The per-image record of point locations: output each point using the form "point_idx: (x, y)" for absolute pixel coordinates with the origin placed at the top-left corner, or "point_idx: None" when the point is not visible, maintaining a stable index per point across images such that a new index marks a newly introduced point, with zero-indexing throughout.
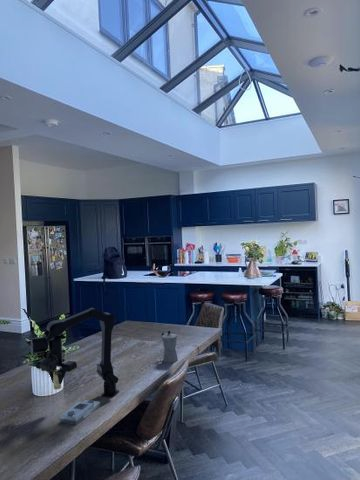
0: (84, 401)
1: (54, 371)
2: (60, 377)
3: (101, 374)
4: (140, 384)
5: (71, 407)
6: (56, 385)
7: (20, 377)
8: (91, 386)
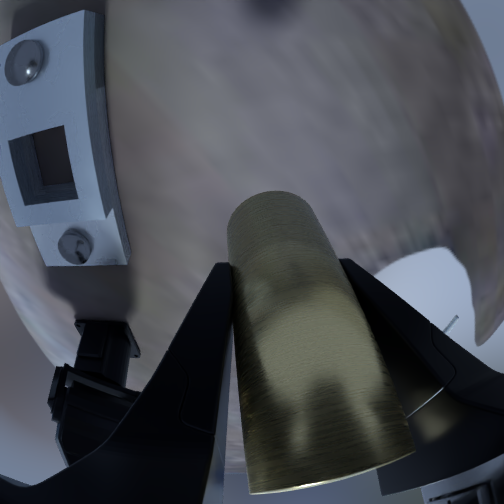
0: (115, 248)
1: (367, 467)
2: (165, 357)
3: (66, 411)
4: None
5: (82, 128)
6: (261, 225)
7: (488, 315)
8: (234, 360)
